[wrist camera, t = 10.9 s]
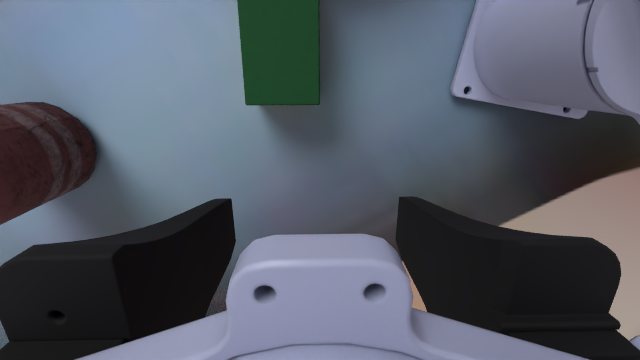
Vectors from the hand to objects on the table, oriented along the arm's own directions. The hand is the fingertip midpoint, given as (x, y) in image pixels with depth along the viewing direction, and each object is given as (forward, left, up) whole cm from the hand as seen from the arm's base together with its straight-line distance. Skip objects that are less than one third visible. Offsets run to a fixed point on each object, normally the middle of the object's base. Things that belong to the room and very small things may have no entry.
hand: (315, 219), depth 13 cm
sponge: (+3, -7, -9) cm, 12 cm away
